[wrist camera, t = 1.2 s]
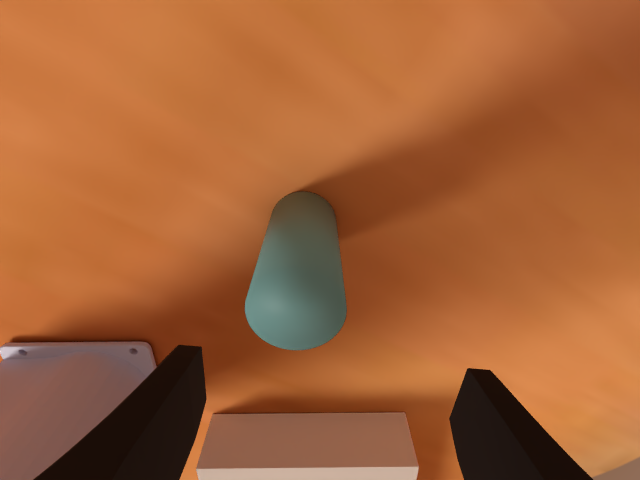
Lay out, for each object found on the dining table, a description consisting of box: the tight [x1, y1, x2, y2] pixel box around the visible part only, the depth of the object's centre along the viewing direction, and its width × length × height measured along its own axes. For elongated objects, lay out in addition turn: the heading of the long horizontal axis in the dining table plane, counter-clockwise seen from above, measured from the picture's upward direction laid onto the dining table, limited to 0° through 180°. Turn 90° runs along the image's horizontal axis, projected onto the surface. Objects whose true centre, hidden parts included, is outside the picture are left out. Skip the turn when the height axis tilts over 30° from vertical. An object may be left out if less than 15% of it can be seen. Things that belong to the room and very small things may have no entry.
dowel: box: [245, 191, 347, 350], centre depth 17 cm, size 4×4×8 cm
